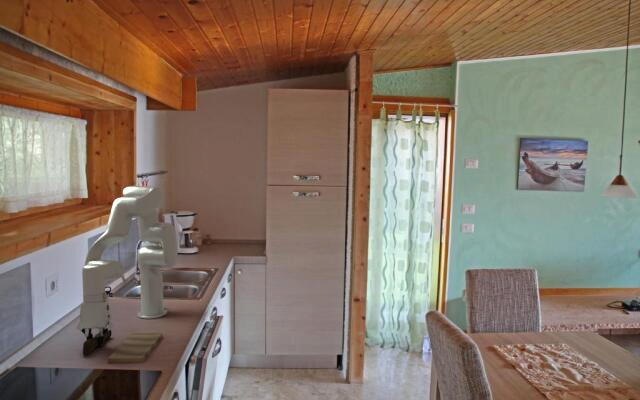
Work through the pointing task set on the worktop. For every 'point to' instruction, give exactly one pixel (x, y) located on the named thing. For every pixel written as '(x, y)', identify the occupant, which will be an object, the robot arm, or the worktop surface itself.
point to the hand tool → (93, 343)
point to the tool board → (135, 348)
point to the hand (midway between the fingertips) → (95, 345)
